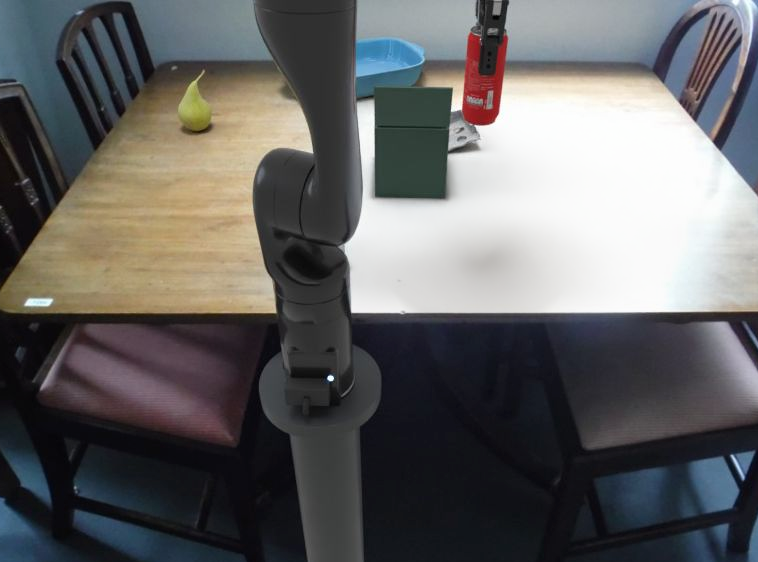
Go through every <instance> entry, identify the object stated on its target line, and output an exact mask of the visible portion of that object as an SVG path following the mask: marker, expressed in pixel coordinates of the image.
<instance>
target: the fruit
mask: <svg viewBox="0 0 758 562" xmlns="http://www.w3.org/2000/svg"><path fill="white" fill-rule="evenodd" d="M205 73H206V70H205V69H202V72H201V73H200V74H199V76H198V77H197V78H196V79H195V80H194V81H192V82H191V83H190V84H189V85H188V87H187V89H186V91H185V94H184V95H183V98H182V99H181V101H180V103H179V105H178V108H177V117H178V119H179V120H180V123H182V125H183V126H184V127H186V128H187V129H188V130H191V131H193V132H200V131H203V130H205V129H207V128H208V127H209V125H210V123H211V121H212V108H211V105H210V104H209V103H208V102H207V100H205V99H203V98H202V96H201V94H200V91H199V86H198V82H199V80H200V79H201V78H202V77H203V76H204V74H205Z"/></svg>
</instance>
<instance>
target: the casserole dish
mask: <svg viewBox="0 0 758 562" xmlns="http://www.w3.org/2000/svg"><path fill="white" fill-rule="evenodd" d="M425 55H426V50H425V48H424V47H422V46H421V45H419V44H417V43H415V42H411V41H406V40H404V39H401V38H397V37H387V36H385V37H383V36H382V37H371V38H364V39H363V38H362V39H356V99H362V98H365V97H374V86H408V87H413V86H414V85H416V83H417V81H418V80H419V78H420V75H421V74H422V71H423V67H424V64H425V61H426V59H425V58H426V57H425ZM276 68H277V70H278V71H279V72H280V70H279V69H278V67H277V66H276Z"/></svg>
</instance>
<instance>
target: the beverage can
mask: <svg viewBox="0 0 758 562" xmlns="http://www.w3.org/2000/svg"><path fill="white" fill-rule="evenodd" d="M469 30H470V32H469V33H468V34H467V44H466V54H465V55H466V56H465V57H466V58H465V68H464V69H465V70H464V82H463V91H462V92H463V93H462V103H461V110H462V113H463V115H464V120H465V121H466V122H467V123H469V124H470V125H474V126H478V127H485V126H490V125H493V124H494V123H495V122H496V119H497V118H498V116H499V114H500V109H501V100H502V94H503V93H502V92H503V84H504V76H505V68H506V67H505V66H506V59H507V53H508V52H507V50H508V45H509V44H508V43H509V36H508V30H507V29H506V28H505V29H504V36H503V39H504V41H503V43H502V46H498V55H497V64H496V73H495V74H494V75H493V76H482V75H480V74H479V72H478V67H479V56H480V43H479V40H480V38H481V26H479V25H474V26H472V27H471V28H470V29H469ZM496 32H497V29H495V28H490V29H488V34H487V35H496Z"/></svg>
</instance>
